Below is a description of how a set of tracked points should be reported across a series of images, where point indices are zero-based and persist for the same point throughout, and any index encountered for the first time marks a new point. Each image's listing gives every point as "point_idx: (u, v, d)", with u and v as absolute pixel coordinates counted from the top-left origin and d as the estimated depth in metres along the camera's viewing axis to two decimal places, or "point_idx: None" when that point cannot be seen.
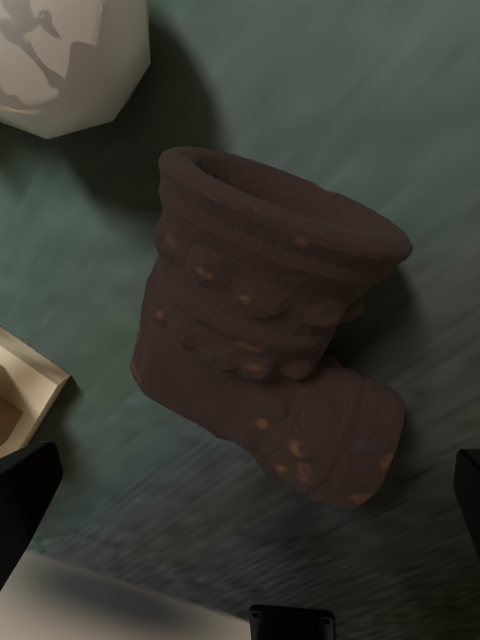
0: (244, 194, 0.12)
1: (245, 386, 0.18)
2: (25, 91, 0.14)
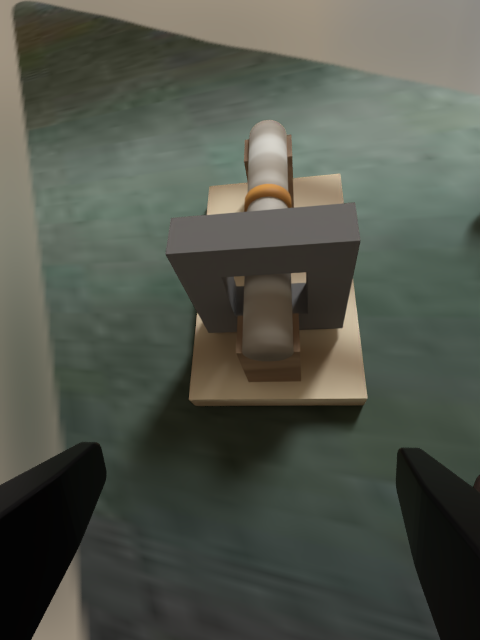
0: None
1: None
2: None
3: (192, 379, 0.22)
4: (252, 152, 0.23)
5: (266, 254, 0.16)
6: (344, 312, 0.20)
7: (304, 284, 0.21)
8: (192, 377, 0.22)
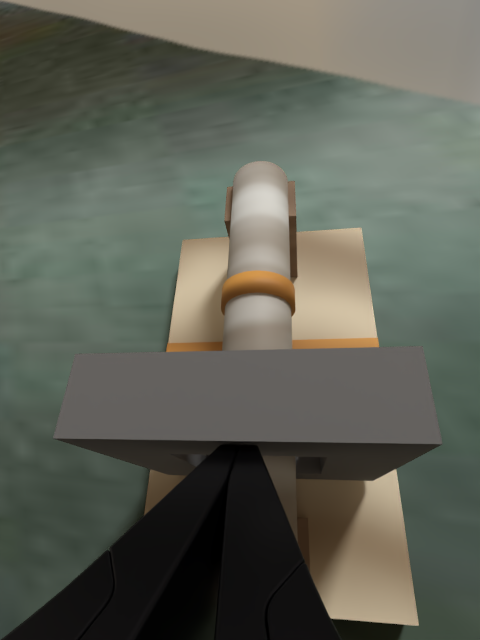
0: None
1: None
2: None
3: None
4: (236, 211, 0.15)
5: None
6: (380, 476, 0.12)
7: None
8: None
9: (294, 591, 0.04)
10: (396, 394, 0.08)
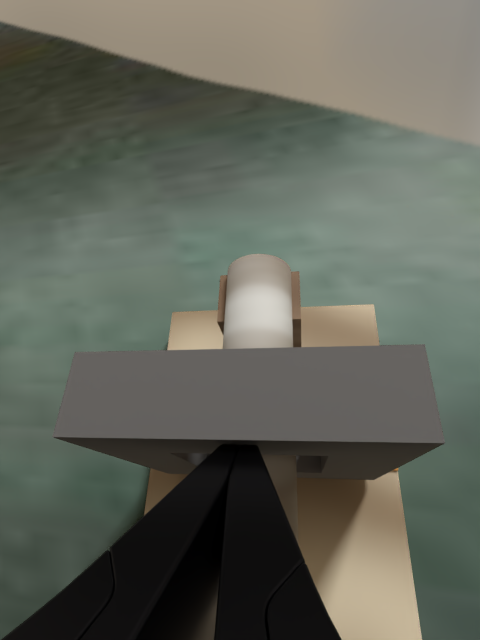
0: None
1: None
2: None
3: None
4: (230, 318, 0.12)
5: (247, 444, 0.08)
6: (381, 475, 0.12)
7: None
8: None
9: (294, 591, 0.04)
10: (398, 392, 0.07)
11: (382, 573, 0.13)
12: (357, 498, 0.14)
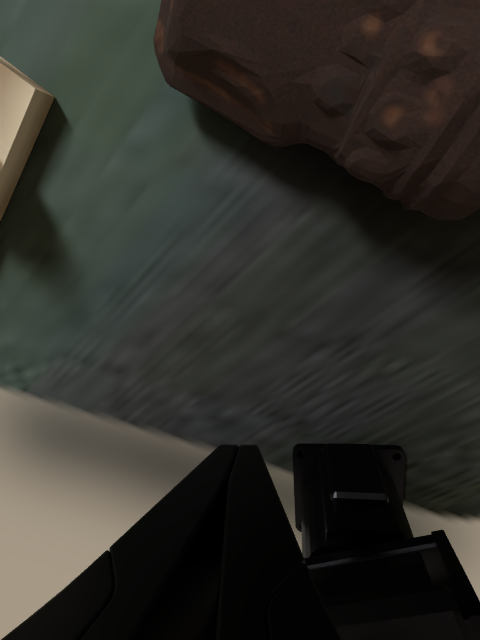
0: None
1: None
2: None
3: None
4: None
5: None
6: None
7: None
8: None
9: (294, 591, 0.04)
10: None
11: None
12: None
